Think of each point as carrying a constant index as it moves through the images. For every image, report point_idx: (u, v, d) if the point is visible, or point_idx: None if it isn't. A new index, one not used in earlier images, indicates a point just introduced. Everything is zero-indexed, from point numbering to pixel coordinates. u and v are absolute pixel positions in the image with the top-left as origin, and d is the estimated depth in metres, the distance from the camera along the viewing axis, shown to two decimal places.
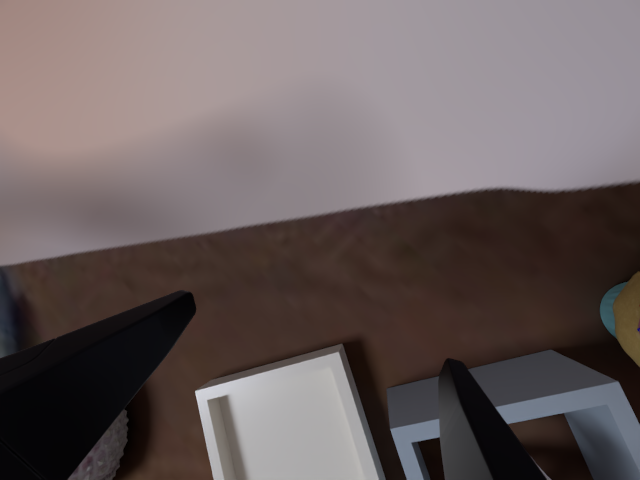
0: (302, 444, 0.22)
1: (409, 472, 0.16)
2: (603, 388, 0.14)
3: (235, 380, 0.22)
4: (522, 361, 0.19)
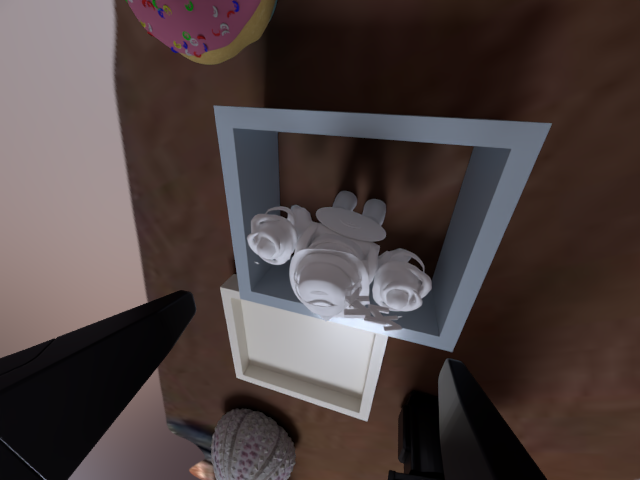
0: (293, 336, 0.26)
1: (271, 303, 0.18)
2: (219, 123, 0.13)
3: (233, 354, 0.29)
4: None
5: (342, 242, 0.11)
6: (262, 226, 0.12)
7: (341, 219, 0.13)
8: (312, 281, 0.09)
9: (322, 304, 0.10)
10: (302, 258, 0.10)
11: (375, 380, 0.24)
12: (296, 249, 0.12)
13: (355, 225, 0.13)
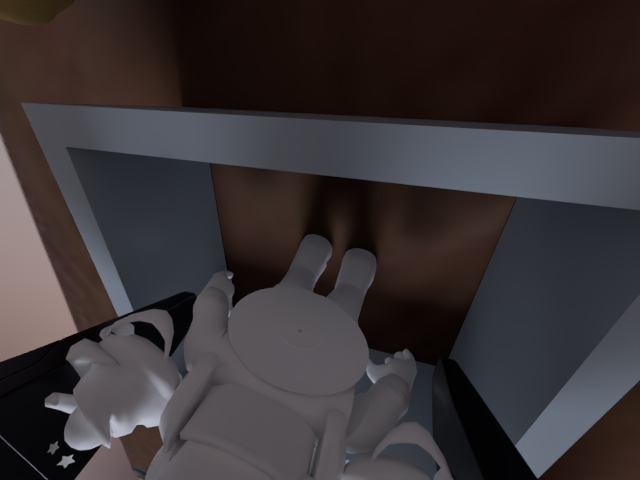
0: None
1: None
2: (41, 137, 0.07)
3: None
4: None
5: (245, 452, 0.04)
6: (90, 368, 0.05)
7: (281, 324, 0.07)
8: None
9: None
10: None
11: None
12: (160, 426, 0.05)
13: (307, 336, 0.07)
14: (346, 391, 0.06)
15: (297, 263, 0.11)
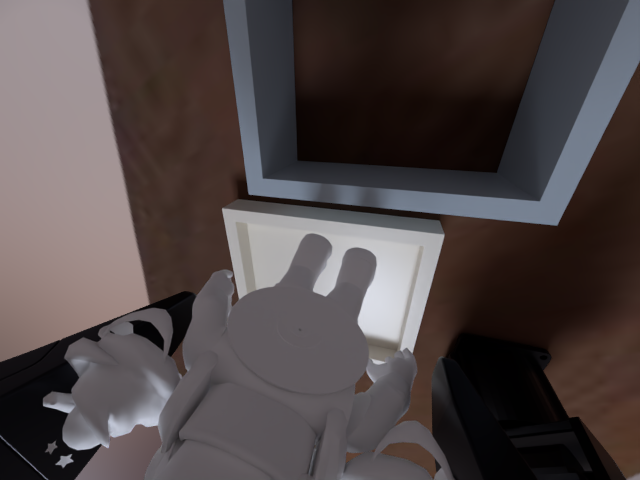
0: None
1: (290, 193, 0.14)
2: None
3: None
4: None
5: (244, 451, 0.04)
6: (88, 367, 0.05)
7: (281, 323, 0.07)
8: None
9: None
10: None
11: (419, 315, 0.19)
12: (159, 426, 0.05)
13: (307, 335, 0.07)
14: (346, 390, 0.06)
15: (297, 262, 0.11)
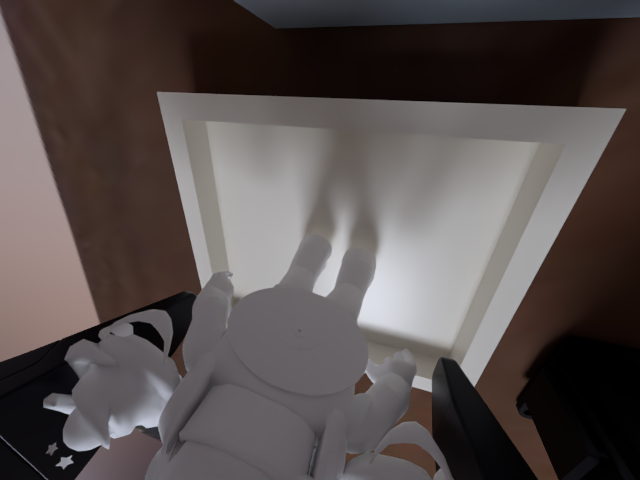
0: (318, 230, 0.13)
1: None
2: None
3: (200, 278, 0.15)
4: None
5: (244, 452, 0.04)
6: (89, 369, 0.05)
7: (281, 324, 0.07)
8: None
9: None
10: None
11: (516, 299, 0.10)
12: (159, 427, 0.05)
13: (307, 336, 0.07)
14: (346, 391, 0.06)
15: (297, 263, 0.11)
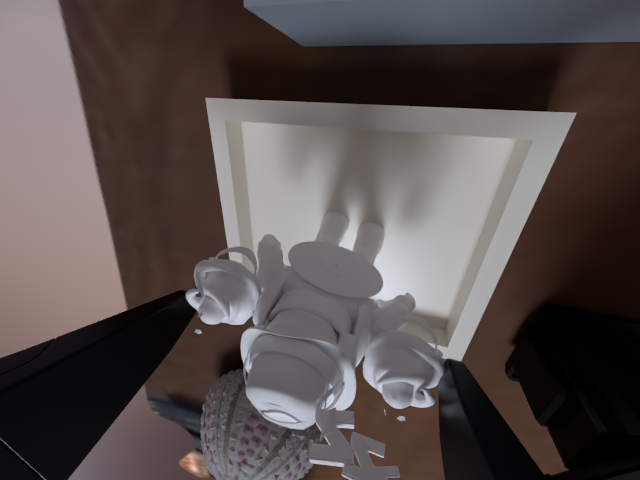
0: None
1: None
2: None
3: (230, 258, 0.17)
4: None
5: (317, 311, 0.07)
6: (208, 277, 0.08)
7: (323, 261, 0.10)
8: (262, 391, 0.06)
9: (283, 415, 0.06)
10: (257, 337, 0.07)
11: (499, 268, 0.12)
12: (255, 312, 0.08)
13: (341, 269, 0.10)
14: (369, 300, 0.09)
15: (323, 232, 0.14)
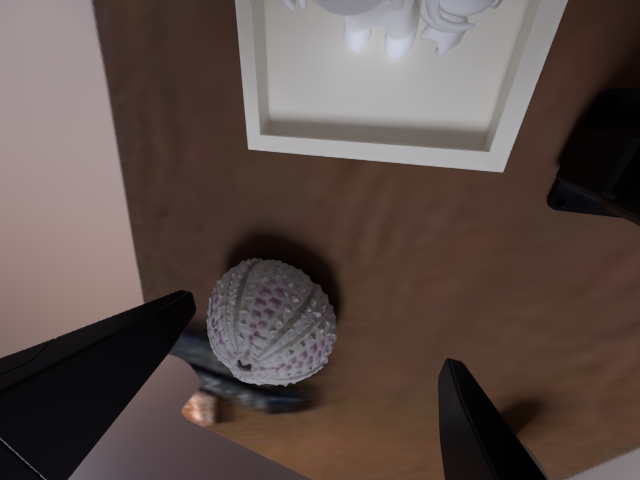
0: None
1: None
2: None
3: (243, 78, 0.16)
4: None
5: None
6: None
7: None
8: None
9: None
10: None
11: (560, 4, 0.11)
12: None
13: None
14: None
15: None
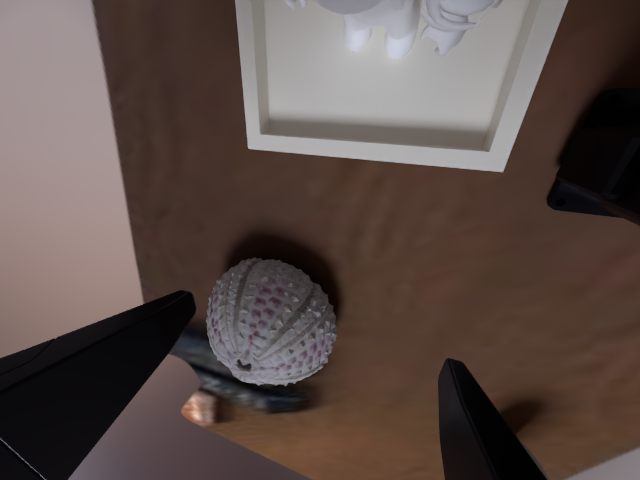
0: None
1: None
2: None
3: (243, 78, 0.16)
4: None
5: None
6: None
7: None
8: None
9: None
10: None
11: (561, 4, 0.11)
12: None
13: None
14: None
15: None
